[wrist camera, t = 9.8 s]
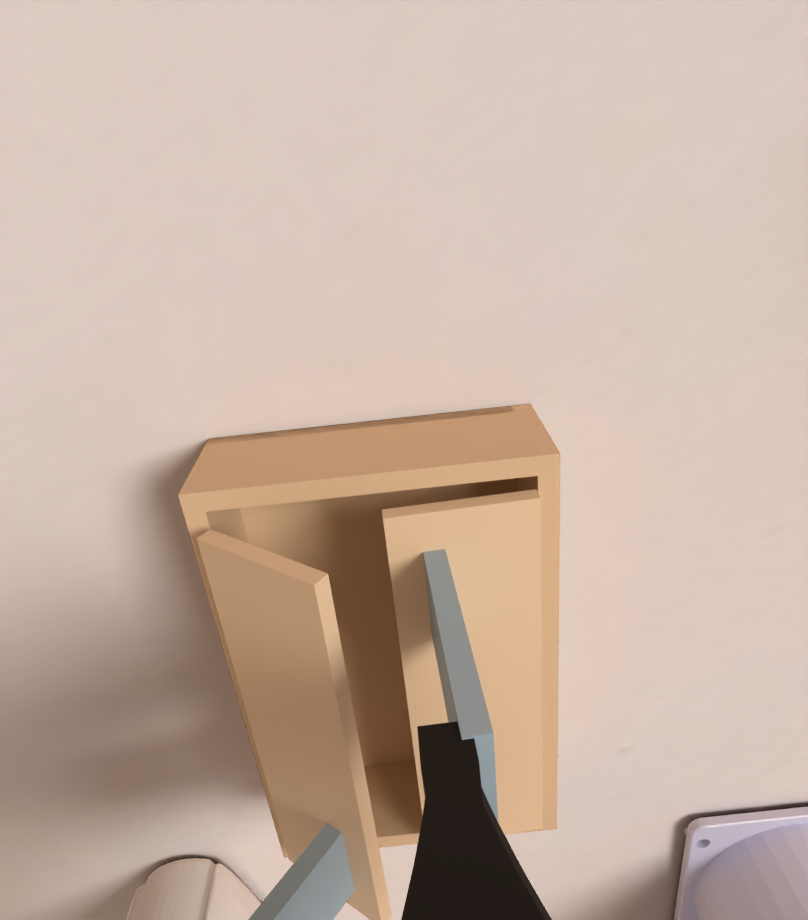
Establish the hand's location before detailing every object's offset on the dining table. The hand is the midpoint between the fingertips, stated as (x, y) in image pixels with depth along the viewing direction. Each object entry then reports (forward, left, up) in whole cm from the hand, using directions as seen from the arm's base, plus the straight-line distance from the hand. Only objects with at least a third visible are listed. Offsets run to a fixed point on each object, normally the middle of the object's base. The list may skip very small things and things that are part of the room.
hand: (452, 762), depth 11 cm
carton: (-4, +1, -8) cm, 9 cm away
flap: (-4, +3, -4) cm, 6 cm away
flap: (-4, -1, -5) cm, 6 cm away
